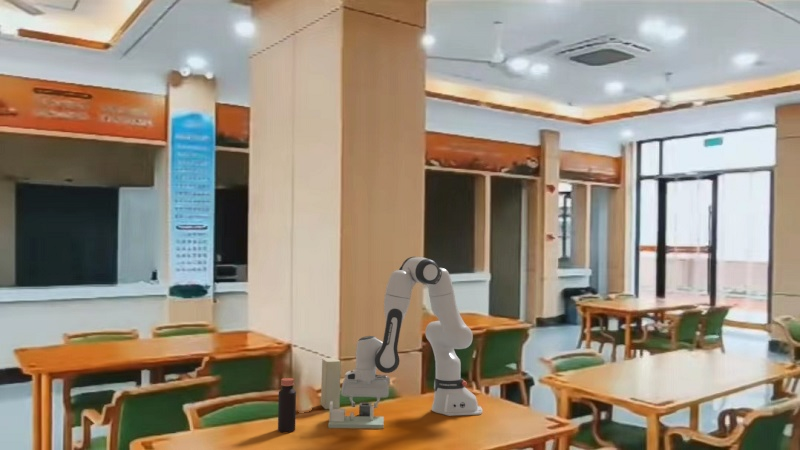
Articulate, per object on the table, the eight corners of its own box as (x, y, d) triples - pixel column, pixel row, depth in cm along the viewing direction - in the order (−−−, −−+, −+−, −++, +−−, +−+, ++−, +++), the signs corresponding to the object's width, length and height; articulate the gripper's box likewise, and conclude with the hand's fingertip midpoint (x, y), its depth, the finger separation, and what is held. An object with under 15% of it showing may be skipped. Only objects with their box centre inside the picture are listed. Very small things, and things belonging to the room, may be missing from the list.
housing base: (383, 420, 277) (384, 402, 277) (383, 428, 265) (383, 409, 265) (331, 419, 277) (331, 401, 277) (328, 427, 265) (328, 409, 265)
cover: (345, 418, 273) (345, 401, 273) (344, 421, 268) (344, 404, 268) (330, 418, 273) (330, 401, 273) (329, 421, 268) (329, 404, 268)
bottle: (276, 428, 262) (277, 378, 263) (293, 427, 265) (294, 377, 265) (279, 433, 256) (280, 381, 256) (296, 432, 259) (297, 380, 259)
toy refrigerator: (341, 408, 295) (342, 360, 296) (325, 409, 293) (326, 361, 293) (336, 403, 303) (337, 357, 303) (320, 405, 300) (321, 358, 300)
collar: (371, 414, 285) (371, 402, 285) (370, 417, 280) (371, 405, 280) (359, 414, 285) (359, 402, 285) (359, 417, 280) (359, 405, 280)
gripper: (389, 373, 286) (388, 405, 285) (342, 372, 285) (341, 404, 285) (390, 376, 280) (389, 409, 279) (341, 375, 279) (340, 408, 279)
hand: (364, 407), depth 282 cm, fingers open, 8 cm apart
